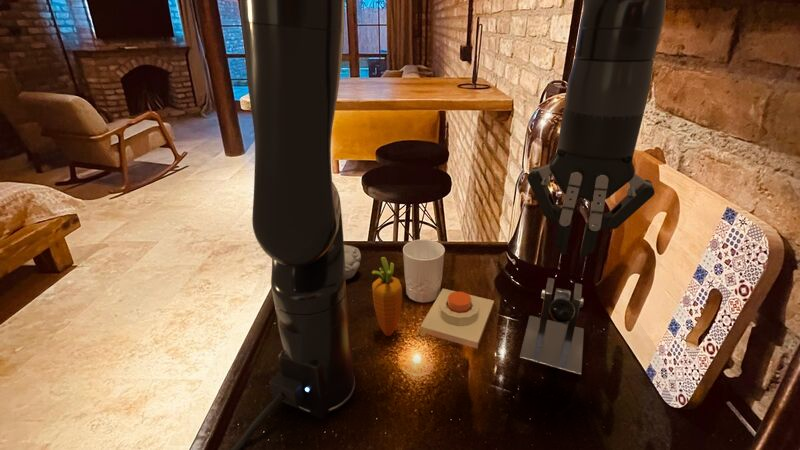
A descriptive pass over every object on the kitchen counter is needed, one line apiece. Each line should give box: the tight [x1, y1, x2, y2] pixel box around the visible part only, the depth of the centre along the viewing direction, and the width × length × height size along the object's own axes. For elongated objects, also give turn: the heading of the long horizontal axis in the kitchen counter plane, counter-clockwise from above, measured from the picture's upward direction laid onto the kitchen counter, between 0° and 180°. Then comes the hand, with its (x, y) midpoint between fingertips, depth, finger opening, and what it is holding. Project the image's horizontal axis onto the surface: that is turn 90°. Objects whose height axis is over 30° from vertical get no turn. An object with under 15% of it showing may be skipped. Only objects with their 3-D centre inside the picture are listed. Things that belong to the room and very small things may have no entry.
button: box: [448, 291, 471, 313], centre depth 71 cm, size 4×4×2 cm
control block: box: [419, 288, 495, 349], centre depth 72 cm, size 12×10×4 cm
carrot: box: [371, 256, 403, 337], centre depth 67 cm, size 5×5×15 cm
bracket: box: [518, 277, 585, 376], centre depth 64 cm, size 11×9×12 cm
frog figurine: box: [344, 244, 362, 280], centre depth 85 cm, size 6×7×7 cm
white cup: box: [402, 238, 446, 304], centre depth 79 cm, size 8×8×10 cm
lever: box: [548, 287, 575, 324], centre depth 58 cm, size 13×3×3 cm, turn 156°
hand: (573, 252), depth 49 cm, fingers closed
